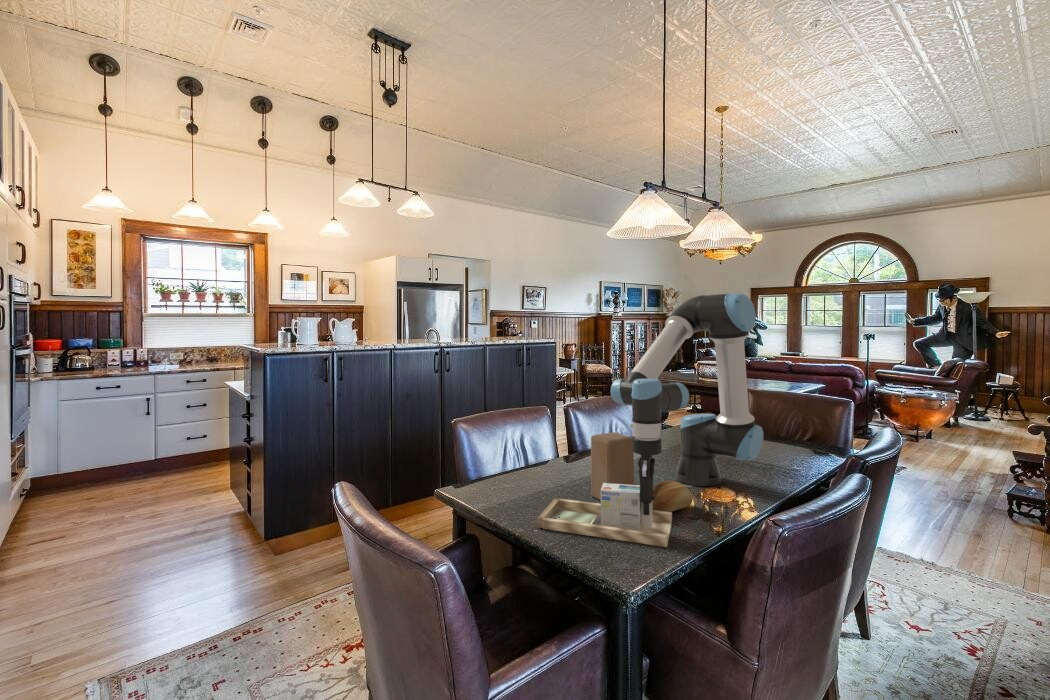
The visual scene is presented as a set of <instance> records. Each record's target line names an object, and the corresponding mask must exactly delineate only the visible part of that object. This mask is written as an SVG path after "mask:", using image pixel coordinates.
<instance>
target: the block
mask: <svg viewBox="0 0 1050 700" xmlns="http://www.w3.org/2000/svg"><path fill="white" fill-rule="evenodd" d="M632 439H633V437H631V436H629V435H628V436H627V435H625V434H622V433H619V432H615V431H612V432H606V433H599V434H593V435H591V436H590V474H591V475H590V481H591V482H590V483H591V485H590V486H591V487H590V489H591V492H590V493H591V497H594V498H595V499H597V500H599V501H601V495H600V492H601V488H602V485H603V483H611V484H626V485H635V479H634V470H635V468H634V467H635V465H634V463H635V462H634V461H635V458H634V454H635V453H634V452H633V451H632Z"/></svg>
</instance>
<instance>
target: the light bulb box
mask: <svg viewBox="0 0 1050 700" xmlns="http://www.w3.org/2000/svg"><path fill="white" fill-rule="evenodd" d="M600 495H601V500H600V504H601V526H609V527H616V528H623V529H630V530H637V531H641V502H640V484H634V485H626V484H611V483H603V485H602V488H601V492H600Z"/></svg>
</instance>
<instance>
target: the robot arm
mask: <svg viewBox="0 0 1050 700" xmlns="http://www.w3.org/2000/svg"><path fill="white" fill-rule="evenodd" d="M756 317H757V316H756V309H755V305H754V304H753V302H752V300H751V298H750V297H748V295H747V294H743V293H734V292H731V293H717V294H708V295H706V294H705V295H703V294H702V295H696V296H693V297H691V298H689V299H688V300H686V301H684V302H683V303H681V304H680V305H679V306H677V307H676V308H675V309H674V310H673V311H672V312H671V313H670V315H669V316H668V317H667V318H666V320H665V322H664V328H663V329H662V331H660V333H659V334H658V336H656V338H655V339H654V341H653V342H652V344H651V345H650V346H649V347H648V349H646V351H645V353H644V354H643V355H642V356H641V358H640V359H639V360H638V362H637V363H636V364H635V366H634V367H633V369H632V370H631V371H630V372H629V374H628V375H627V377H626V378H618V379H616V380H614V381H613V383H612V384H611V386H610V395H611V398H612V401H614V402H615V403H617V404H621V405H623V406H624V405H625V406H631V409H632V410H631V411H632V415H631V416H632V418H631V420H632V421H631V424H630V425H629V427H630V428H631V429H632V430H631V433H632V434H631V435H632V436H633V437H632V438H633V439H632V451H633V452H634V454H637V455H640V457H639V459H638V460H637V461H638V462H637V465H638V468H639V470H638V474H639V485H640V502H641V526H649V527H652V510H653V505H652V500H655V497H652V495H653V490H654V474H655V465H656V459H655V458H654V457H653V456H656V455H660V454H661V453H662V439H661V437H662V433H663V432H662V426H663V425H662V413H666V412H671V411H677V410H680V409H682V408H684V407H686V406H687V405H688V403H689V401H690V392H689V390H688V388H687V387H686V386H685V385H684V384H683V383H681V382H673V381H670V382H669V383H668V382H662V381H661V380H659V379H658V378H659V377H660V375H661V374H662V372H663V371H664V370H665V368H666V367H667V365H668V364H669V363H670V361H671V360H672V358H673V357H674V356H675V354H676V353H677V351H678V350H679V349H680V347H681V346H682V345H683V343H684V342H685V340H687V339H690V338H691V337H692V336H693V335H694V334H695V333H697V332H708V338H709V339H710V340H711V341H712V342H713V343H714V348H715V349H714V350H715V361H716V362H715V363H716V376H717V386H718V400H719V410H720V413H719V414H718V415H716V414H715V413H694V414H693V413H692V414H687V415H684V416H683V417H681V419H680V420H681V421H680V428H679V429H680V458H679V461H678V463H677V467H676V470H675V480H676V481H678V482H679V483H681V484H685V485H690V486H695V487H697V486H698V487H714V486H718V485H720V484H721V483H722V475H721V472H720V468H719V465H718V462H717V455H718V456H722V457H726V458H731V459H736V460H741V461H742V460H743V461H752V460H754V459H756V458H757V457H758V454H759V453H760V452H761V450H762V446H763V443H764V435H765V434H764V430H763V427H761V425H758V424H756V421H755V420H756V419H755V416H754V415H752V414H751V413H750V409H749V394H748V393H749V392H748V381H747V379H748V378H747V377H748V376H747V368H746V367H747V366H746V353H745V340H746V339H747V338H748V337H749V336H750V332H749V331H752V330H753V329H754V327H755V325H756V320H757V318H756Z"/></svg>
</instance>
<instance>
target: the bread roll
mask: <svg viewBox="0 0 1050 700" xmlns="http://www.w3.org/2000/svg"><path fill="white" fill-rule="evenodd" d="M652 497H655V500H652V509H653V510H656V511H665V512H672V513H673V512H676V511H679V510H681V509H684V508H687V507H690V506H691V504H692V503H693V494H692V493H691V491H690V490H689V488H688V487H687V486H686V485H684V484H683V483H682V482H679V481H678V482H677V480H665V481H664V480H663V481H661V482H659V483H658V484H657V485H656V486H655V487H653V495H652Z"/></svg>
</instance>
